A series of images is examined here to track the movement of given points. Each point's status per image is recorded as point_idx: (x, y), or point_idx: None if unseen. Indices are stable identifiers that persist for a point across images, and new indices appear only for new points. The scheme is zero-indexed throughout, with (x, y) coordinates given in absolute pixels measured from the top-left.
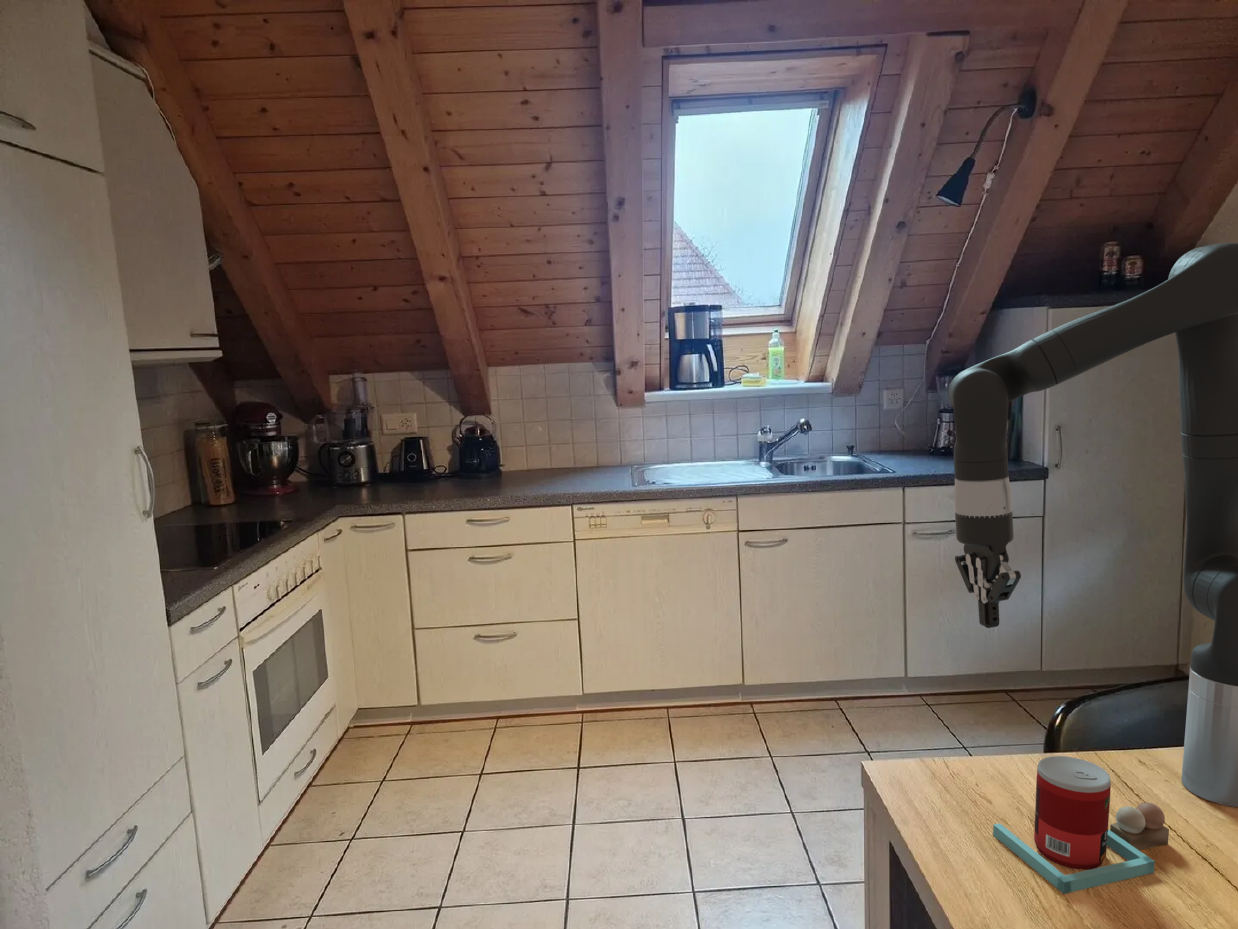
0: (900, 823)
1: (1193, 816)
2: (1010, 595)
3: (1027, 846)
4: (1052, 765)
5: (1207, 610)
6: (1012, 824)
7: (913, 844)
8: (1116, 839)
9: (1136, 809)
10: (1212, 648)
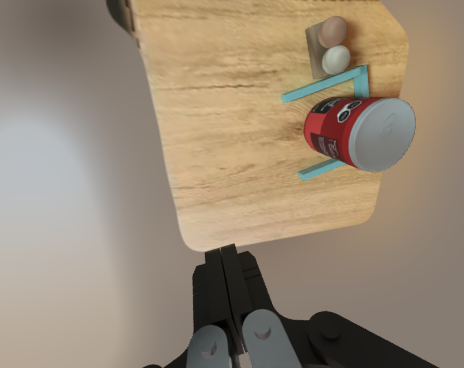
0: (279, 238)
1: None
2: (371, 332)
3: (333, 163)
4: (363, 152)
5: None
6: (286, 157)
7: (303, 233)
8: (335, 82)
9: (345, 52)
10: None
